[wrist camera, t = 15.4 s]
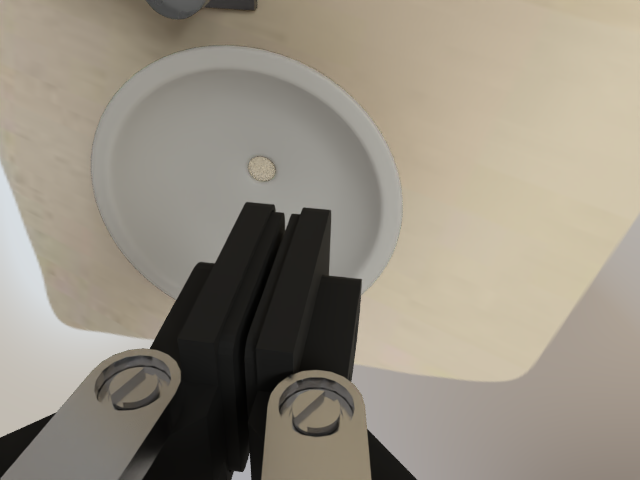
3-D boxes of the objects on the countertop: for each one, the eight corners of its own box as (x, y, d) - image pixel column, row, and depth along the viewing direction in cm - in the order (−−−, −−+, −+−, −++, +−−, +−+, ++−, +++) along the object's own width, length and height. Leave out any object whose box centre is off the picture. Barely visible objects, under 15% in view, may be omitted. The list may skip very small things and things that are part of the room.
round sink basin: (225, 311, 60) (205, 357, 55) (69, 105, 50) (25, 137, 45) (451, 229, 52) (454, 274, 46) (315, -41, 41) (299, -24, 36)
